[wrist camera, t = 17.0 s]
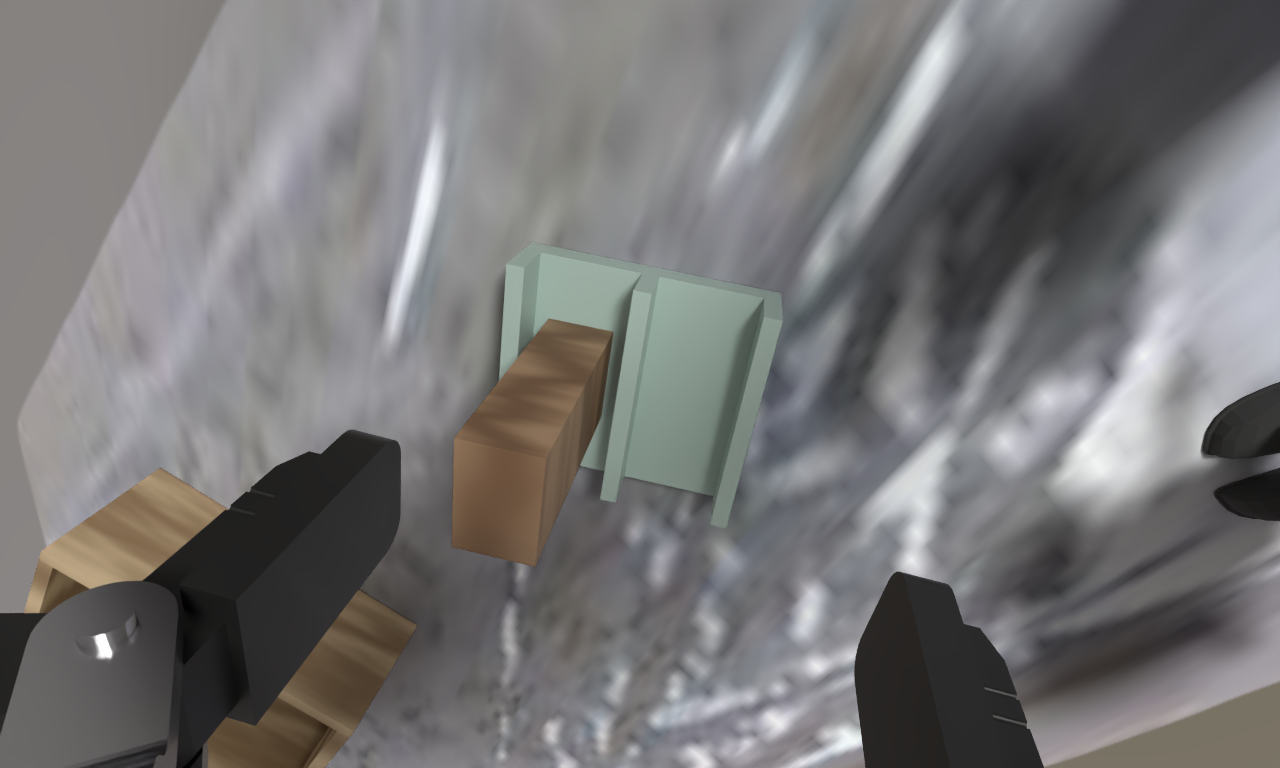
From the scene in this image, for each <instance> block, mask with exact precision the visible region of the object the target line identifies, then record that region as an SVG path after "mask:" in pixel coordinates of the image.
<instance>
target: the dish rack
mask: <svg viewBox="0 0 1280 768" xmlns="http://www.w3.org/2000/svg"><path fill="white" fill-rule="evenodd" d="M549 318H550V319H554V320H559V321H564V322H569V323H574V324H579V325H584V326H588V327H593V328H598V329H603V330H608V331H613V339H612V346H611V353H610V360H609V367H608V374H607V381H606V388H605V395H604V402H603V409H602V416H601V419H600V421H599V424H598V426H597V428H596V430H595V433H594V435H593V437H592V439H591V442H590V444H589V446H588V448H587V451H586V453H585V455H584V458H583V460H582V462H581V464H580V466H583V467H587V468H592V469H596V470H600V471H605V472H604V478H603V484H602V490H601V497H600V500H605V501H609V502H613V503H616V500H617V497H618V494H619V491H620V488H621V485H622V482H623V479H624V476H627V477H631V478H635V479H640V480H644V481H649V482H653V483H657V484H662V485H666V486H670V487H675V488H679V489H684V490H688V491H692V492H697V493H701V494H706V495H710V496H713V502H712V511H711V520H710V525H713V526H717V527H721V528H726V526H727V522H728V519H729V515H730V512H731V508H732V504H733V501H734V497H735V493H736V490H737V486H738V483H739V479H740V475H741V472H742V468H743V464H744V461H745V457H746V454H747V450H748V446H749V443H750V439H751V435H752V432H753V428H754V424H755V421H756V417H757V414H758V410H759V406H760V403H761V399H762V395H763V392H764V388H765V385H766V381H767V377H768V374H769V370H770V366H771V363H772V359H773V356H774V352H775V348H776V345H777V341H778V337H779V334H780V330H781V327H782V323H783V313H782V297H781V293H778V292H774V291H769V290H764V289H759V288H754V287H749V286H744V285H739V284H734V283H729V282H724V281H720V280H715V279H710V278H705V277H700V276H695V275H690V274H685V273H680V272H675V271H670V270H665V269H661V268H656V267H651V266H646V265H641V264H636V263H631V262H626V261H621V260H616V259H611V258H606V257H602V256H597V255H592V254H587V253H582V252H577V251H572V250H567V249H562V248H557V247H552V246H548V245H543V244H538V243H533V242H532V243H531V244H529V245H528V246H527V247H526V248H525V249H523V250H522V251H521V252H520V253H519V254H518V255H516V256H515V257H514V258H513V259H512V260H510V261H509V262H508V263H507V264H506V278H505V293H504V309H503V325H502V340H501V356H500V372H499V381H500V379H501V378H502V377H503V376H504V374H505V373H506V372H507V371H508V369H509V368H510V367H511V366H512V364H513V363H514V362H515V360H516V359H517V358H518V357H519V355H520V354H521V353H522V352H523V350H524V349H525V348H526V347H527V345H528V344H529V343H530V342H531V340H532V339H533V338H534V336H535V335H536V334H537V333H538V331H539V330H540V329H541V328H542V326H543V325H544V324H545V323H546V321H547V320H548V319H549Z"/></svg>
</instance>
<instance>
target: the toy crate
mask: <svg viewBox="0 0 1280 768" xmlns="http://www.w3.org/2000/svg"><path fill="white" fill-rule="evenodd" d="M224 510H228V509H227V508H225V507H223V506H222V505H220V504H218V503H217V502H215V501H214V500H212V499H210V498H209V497H207V496H205V495H204V494H202V493H200V492H199V491H197V490H196V489H194V488H192V487H191V486H189V485H187V484H186V483H184V482H182V481H181V480H179V479H178V478H176V477H174V476H173V475H171V474H169V473H168V472H166V471H165V470H163V469H161V468H159V469H158V470H156V471H155V472H154V473H152V474H151V475H149V476H148V477H146V478H145V479H144V480H142V481H141V482H139V483H138V484H136V485H135V486H134V487H132V488H131V489H129V490H128V491H126V492H125V493H124V494H122V495H121V496H119V497H118V498H116V499H115V500H114V501H112V502H111V503H109V504H108V505H106V506H105V507H104V508H102V509H101V510H99V511H98V512H96V513H95V514H94V515H92V516H91V517H89V518H88V519H86V520H85V521H83V522H82V523H81V524H79V525H78V526H76V527H75V528H73V529H72V530H71V531H69V532H68V533H66V534H65V535H63V536H62V537H61V538H59V539H58V540H56V541H55V542H53V543H52V544H51V545H49V546H48V547H46V548H45V549H44V550H42V551H41V554H40V558H39V561H38V565H37V568H36V572H35V576H34V579H33V583H32V586H31V590H30V593H29V597H28V600H27V604H26V607H25V611H24V613H49V612H50V611H51V610H52V609H54V608H55V607H57V606H58V605H60V604H61V603H63V602H64V601H66V600H68V599H70V598H71V597H73V596H75V595H77V594H79V593H82V592H84V591H87V590H89V589H92V588H95V587H98V586H101V585H106V584H110V583H115V582H122V581H142V580H144V579H145V578H146V577H147V576H149V575H150V574H151V573H152V572H153V571H154V570H156V569H157V568H158V567H159V566H160V565H161V564H163V563H164V562H165V561H166V560H167V559H168V558H170V557H171V556H172V555H173V554H174V553H175V552H177V551H178V550H179V549H180V548H181V547H182V546H184V545H185V544H186V543H187V542H188V541H189V540H191V539H192V538H193V537H194V536H195V535H196V534H198V533H199V532H200V531H201V530H202V529H203V528H205V527H206V526H207V525H208V524H209V523H210V522H212V521H213V520H214V519H215V518H216V517H217V516H219V515H220V514H221V513H222V512H223V511H224ZM417 626H418V625H416V624H414V623H413V622H411V621H409V620H408V619H406V618H405V617H403V616H401V615H400V614H398V613H396V612H395V611H393V610H391V609H390V608H388V607H387V606H385V605H383V604H382V603H380V602H378V601H377V600H375V599H374V598H372V597H370V596H369V595H367V594H365V593H364V592H362V591H360V590H358V591H357V592H356V594H355V595H354V596H353V598H352V599H351V600H350V602H349V603H348V604H347V606H346V607H345V608H344V610H343V611H342V612H341V613H340V615H339V616H338V617H337V619H336V620H335V621H334V623H333V624H332V625H331V627H330V628H329V629H328V631H327V632H326V633H325V635H324V636H323V637H322V639H321V640H320V641H319V643H318V644H317V645H316V647H315V648H314V649H313V651H312V652H311V653H310V655H309V656H308V657H307V658H306V660H305V661H304V662H303V664H302V665H301V666H300V668H299V669H298V670H297V672H296V673H295V674H294V676H293V677H292V678H291V680H290V681H289V682H288V684H287V685H286V686H285V688H284V689H283V690H282V692H281V693H280V694H279V696H278V697H277V698H276V700H275V701H274V702H273V703H272V705H271V706H270V707H269V709H268V710H267V711H266V713H265V714H264V715H263V717H262V718H261V719H260V721H259V722H258V723H257V725H256V726H254V725H251V724H247V723H244V722H240V721H237V720H234V719H230V718H227V717H226V718H225V719H224V720H223V721H222V723H221V724H220V725H219V726H218V728H217V729H216V730H215V731H214V733H213V734H212V735H211V736H210V738H209V739H208V740H207V741H208V750H209V752H208V768H325V766H326V765H327V764H328V763H329V762H330V760H331V759H332V758H333V757H334V755H335V754H336V753H337V752H338V750H339V749H340V748H341V747H342V746H343V744H344V743H345V742H346V741H347V739H348V738H349V737H350V736H351V735H352V733H353V732H354V731H355V729H356V727H357V726H358V724H359V722H360V721H361V719H362V717H363V716H364V714H365V712H366V711H367V709H368V707H369V706H370V704H371V702H372V701H373V699H374V697H375V696H376V694H377V692H378V691H379V689H380V687H381V686H382V684H383V682H384V681H385V679H386V677H387V676H388V674H389V672H390V671H391V669H392V667H393V666H394V664H395V662H396V661H397V659H398V657H399V656H400V654H401V652H402V651H403V649H404V647H405V646H406V644H407V642H408V641H409V639H410V637H411V636H412V634H413V632H414V631H415V629H416V627H417Z"/></svg>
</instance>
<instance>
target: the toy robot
mask: <svg viewBox="0 0 1280 768" xmlns="http://www.w3.org/2000/svg"><path fill="white" fill-rule="evenodd" d="M1203 451H1204V453H1205V454H1209V455H1217V456H1219V457H1224V458H1232V459H1234V458H1251V457H1258V456H1264V455H1269V454H1275V453H1280V383H1277V384H1274V385H1271V386H1269V387H1266V388H1264V389H1262V390H1260V391H1257V392H1255V393H1253V394H1250V395H1248V396H1246V397H1244V398H1242V399H1240V400H1239V401H1237V402H1235V403H1233V404H1232V405H1230V406H1228V407H1227V408H1226V409H1225V410H1223V411H1222V412H1221V413H1220V414H1219V415H1218V416H1217V417H1216V418H1215V419H1214V421H1213V422H1212V424H1211V425H1210V427H1209V429H1208V431H1207V434H1206V437H1205V441H1204V446H1203ZM1214 494H1215V497H1216V499H1217V500H1218V501H1219V502H1220V503H1221V504H1222V505H1223V506H1224V507H1225V508H1226V509H1227V510H1229V511H1231V512H1233V513H1235V514H1237V515H1239V516H1242V517H1247V518H1252V519H1262V520H1269V521H1280V468H1279V469H1276V470H1273V471H1270V472H1266V473H1263V474H1260V475H1257V476H1253V477H1250V478H1247V479H1244V480H1241V481H1237V482H1234V483H1231V484H1229V485H1226V486H1224V487H1222V488H1219V489H1218V490H1216V491H1215V492H1214Z"/></svg>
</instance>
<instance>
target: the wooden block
mask: <svg viewBox="0 0 1280 768" xmlns="http://www.w3.org/2000/svg"><path fill="white" fill-rule="evenodd" d="M612 339H613V331H608V330H603V329H598V328H593V327H588V326H584V325H579V324H574V323H569V322H564V321H559V320H554V319H550V318H549V319H548V320H547V321H546V323H545V324H544V325H543V326H542V328H541V329H540V330H539V331H538V333H537V334H536V335H535V336H534V338H533V339H532V340H531V342H530V343H529V344H528V345H527V347H526V348H525V349H524V350H523V352H522V353H521V354H520V355H519V357H518V358H517V359H516V360H515V362H514V363H513V364H512V366H511V367H510V368H509V369H508V371H507V372H506V373H505V374H504V376H503V377H502V378H501V379H500V381H499V382H498V383H497V384H496V386H495V387H494V388H493V389H492V391H491V392H490V393H489V395H488V396H487V397H486V398H485V400H484V401H483V402H482V403H481V405H480V406H479V407H478V408H477V410H476V411H475V412H474V413H473V415H472V416H471V417H470V419H469V420H468V421H467V422H466V424H465V425H464V426H463V427H462V429H461V430H460V431H459V432H458V434H457V435H456V436H455V437H454V464H453V508H452V547H454V548H459V549H463V550H467V551H471V552H475V553H480V554H484V555H488V556H492V557H497V558H501V559H505V560H509V561H514V562H518V563H522V564H526V565H530V566H536V564H537V562H538V560H539V557H540V555H541V553H542V550H543V548H544V546H545V544H546V541H547V539H548V537H549V535H550V532H551V530H552V528H553V526H554V523H555V521H556V519H557V516H558V514H559V512H560V510H561V507H562V505H563V503H564V501H565V498H566V496H567V494H568V492H569V489H570V487H571V485H572V482H573V480H574V478H575V476H576V473H577V471H578V469H579V467H580V464H581V462H582V460H583V458H584V455H585V453H586V451H587V448H588V446H589V444H590V442H591V439H592V437H593V435H594V433H595V430H596V428H597V426H598V424H599V421H600V419H601V416H602V409H603V402H604V395H605V388H606V381H607V374H608V367H609V360H610V353H611V346H612Z"/></svg>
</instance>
